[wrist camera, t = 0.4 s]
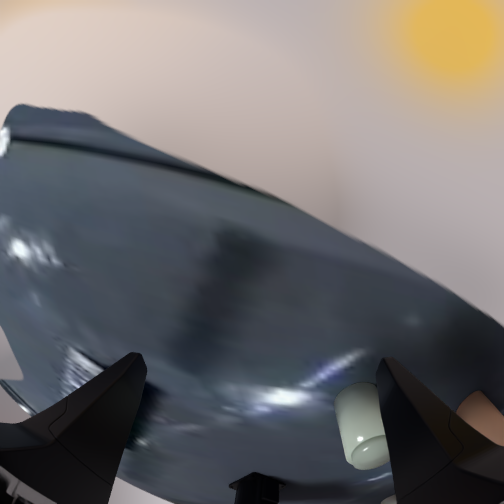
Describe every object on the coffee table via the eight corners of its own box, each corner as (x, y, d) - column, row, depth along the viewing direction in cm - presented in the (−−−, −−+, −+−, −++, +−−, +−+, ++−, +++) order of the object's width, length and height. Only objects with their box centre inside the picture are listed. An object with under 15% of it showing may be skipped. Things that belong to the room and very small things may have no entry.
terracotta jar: (462, 421, 26) (496, 472, 13) (451, 413, 26) (488, 469, 13) (486, 396, 25) (525, 443, 12) (476, 386, 25) (521, 437, 12)
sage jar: (354, 421, 26) (369, 476, 18) (324, 405, 26) (335, 465, 17) (387, 393, 26) (413, 445, 17) (358, 374, 25) (383, 431, 16)
